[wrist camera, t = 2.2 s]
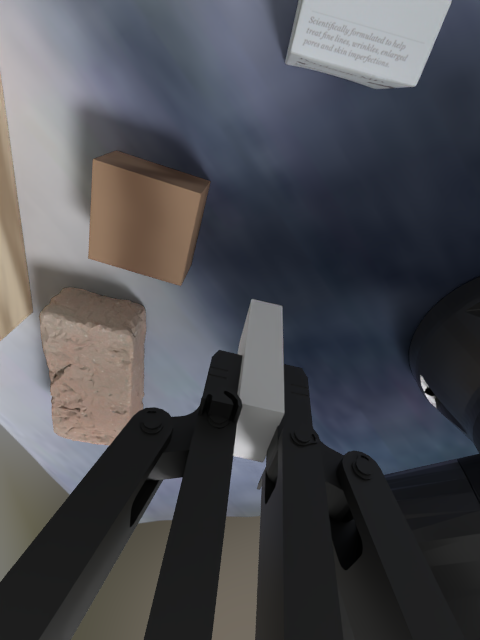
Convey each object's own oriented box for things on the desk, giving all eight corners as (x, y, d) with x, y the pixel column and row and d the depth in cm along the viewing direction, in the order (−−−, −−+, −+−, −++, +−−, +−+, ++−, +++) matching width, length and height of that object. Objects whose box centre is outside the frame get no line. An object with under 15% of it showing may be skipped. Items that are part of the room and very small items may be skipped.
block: (211, 180, 26) (201, 193, 22) (191, 263, 30) (180, 285, 26) (117, 150, 25) (92, 159, 22) (110, 239, 29) (88, 258, 26)
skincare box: (283, 65, 21) (285, 55, 15) (316, -77, 18) (335, -164, 12) (378, 90, 22) (417, 90, 16) (428, -46, 18) (503, -115, 12)
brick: (59, 283, 32) (29, 310, 28) (150, 302, 32) (132, 332, 28) (74, 405, 41) (53, 438, 37) (144, 419, 41) (130, 453, 37)
